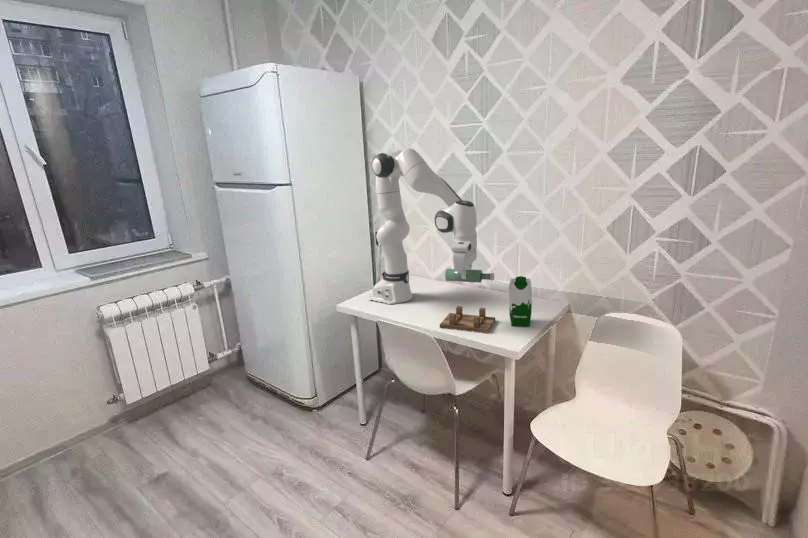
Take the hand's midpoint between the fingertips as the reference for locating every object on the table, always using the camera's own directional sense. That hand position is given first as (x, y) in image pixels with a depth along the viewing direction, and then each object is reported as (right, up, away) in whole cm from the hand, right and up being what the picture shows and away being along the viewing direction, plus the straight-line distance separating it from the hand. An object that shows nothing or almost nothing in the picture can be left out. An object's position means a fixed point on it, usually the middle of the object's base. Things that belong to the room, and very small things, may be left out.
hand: (466, 276), depth 167 cm
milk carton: (+23, -19, +3) cm, 30 cm away
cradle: (+1, -20, +6) cm, 21 cm away
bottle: (+1, -2, -2) cm, 3 cm away
